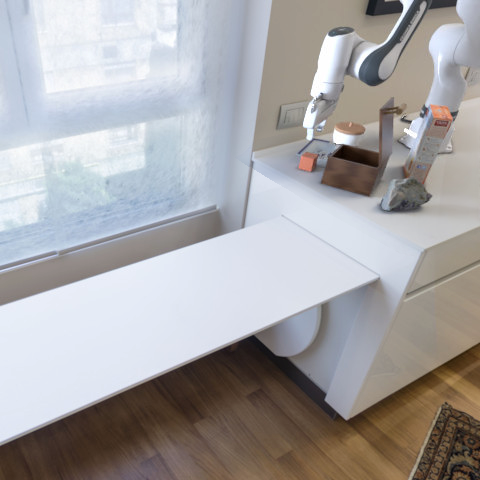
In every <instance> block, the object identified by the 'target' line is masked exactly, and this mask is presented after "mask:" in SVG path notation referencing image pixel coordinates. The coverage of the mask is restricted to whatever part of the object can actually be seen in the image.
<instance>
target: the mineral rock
mask: <svg viewBox="0 0 480 480" xmlns="http://www.w3.org/2000/svg"><path fill="white" fill-rule="evenodd" d="M432 197H433V194H432V193H430V192H428V190H427V188H426V186H425V185H424V184H422V183H421V182H419V181H418V180H417V179H415V178H414V177H412V176H411V177H410V178H407V179H405V178H403V179H397V178H394V179H392V180H391V181H390V183H389V186H388V188H387V191H386V194H385V195H384V196H383V197H382V199H381V201H380V206H381V208H382V210H385V211H386V212H391V211H401V210H411V209H413V210H414V209H417V208H420V207H421V206H422V205H425V204H427V203H429V202H430V201H431V199H432Z"/></svg>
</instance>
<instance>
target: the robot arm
mask: <svg viewBox="0 0 480 480" xmlns="http://www.w3.org/2000/svg"><path fill="white" fill-rule="evenodd" d="M399 2H400V3H401V4H402V7H403V9H402V12H401V14H400V16H399V18H398V20H397V21H396V23H395V24H394V27H393V28H392V30H391V32H390V33H389V35H388V36H387V38H386V40H384V41H383V42H382V43H380V44H378V43H375V42H371V41H369V40H367V39H364V38H362V37H361V36H360V35H358V34H357V32H356V30H355V29H354V27H351V26H338V27H334V28H332V29H331V30H329V31H328V32H327V33H326V36H325V37H324V40H323V42H322V45H321V49H320V52H319V56H318V60H317V70H316V72H315V75H314V77H313V80H312V86H311V90H310V96H311V97H313V98H312V100H311V101H310V102H309V103H308V106H307V108H306V112H305V115H304V119H303V124H302V127H303V128H304V129H306V140H307V141H312V140H313V139H314V137H315V130H316V132H318V133H321V132H323V131H324V129H325V125H326V123H327V121H328V119H329V117H331V116H332V115H333V114H334V113H335V111H336V108H337V106H338V102H339V100H340V96H341V94H342V93H343V91H344V89H345V84H344V83H345V77H346V76H349V77H351V78H354V79H356V80H358V81H361V83H364V84H365V85H367V86H369V87H377V86H380V85H381V84H383V83H385V82H386V81H388V80H389V79H390V77H392V75H393V74H394V72H395V70H396V68H397V65H398V63H399V61H400V59H401V57H402V55H403V53H404V51H405V50H406V48H407V47H408V45H409V43H410V41H411V40H412V38H413V37H414V35H415V33H416V31H418V28H419V27H420V24H421V23H422V22H423V20H424V18H425V16H426V15H427V13H428V11H429V9H430V7H431V4H432V3H433V0H399ZM455 8H456V9H455V10H456V14H457V15H458V17H459V18H460V20H461V21H462V23H460V22H457V23H455V22H454V23H445V24H444V23H443V24H442V25H441V26H439V27H438V28H437V29H436V30H435V31H434V32H433V34H432V35H431V37H430V40H429V41H428V52H429V55H430V56H431V59H432V63H433V79H432V83H431V87H430V90H429V92H428V94H427V98H426V100H425V103H424V104H423V105H422V107H421V109H420V111H419V116H418V117H416V118H414V119H413V120H410V119H406V118H405V117H407V115H406V116H405V117H403V118H402V117H401V121H402V122H405V123H410V125H409V128H408V129H407V128H404V130H403V131H404V132H405V133H406V134H405V135H403V136H402V137H400V138H399V139H398V142H400V143H401V144H402V145H403V144H404V145H405V146H406V147H407V148H409V149H411V147H412V145H413V143H414V140H415V138H416V135H417V133H418V131H419V128H420V126H421V123H422V121H423V118H424V116H425V114H426V111H427V109H428V106H429V105H430V104H432V105H441V106H447V107H448V109H449V111H450V114H451V116H452V118H453V122H452V124H451V126H450V128H449V130H448V132H447V134H446V137H445V139H444V141H443V143H442V145H441V147H440V150H439V152H438V154H441V153H442V154H443V153H446V154H447V153H453V152H452V151H453V145H452V144H453V143H452V140H453V135H454V134H455V131H456V128H455V124H454V122H455V121H456V119H457V117H458V114H459V111H460V109H459V108H460V107H461V104H462V102H463V100H464V98H465V95H466V93H467V91H468V82H467V80H466V79H465V78H464V75H463V67H466V68H469V69H473V70H480V0H456V5H455Z"/></svg>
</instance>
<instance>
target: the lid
mask: <svg viewBox="0 0 480 480" xmlns="http://www.w3.org/2000/svg"><path fill="white" fill-rule="evenodd" d="M407 108H408V105H407V103H402V104H400V105H398V106H395V96H392V97H390V98H389V99H388V100H387V101H386V102H385V103H384V104H383V105H382V106H381V107H380V108H379V114H378V115H379V116H378V117H379V118H378V119H379V121H378V122H379V123H378V124H379V125H378V152H379V168H382V166H383V165H384V164H385V162H386V161H387V160H388V158H389V157H390V158H391V156H392V154H393V149H394V148H393V146H394V117H395V114H396V115H397V116H400V115H402V114H403V113H404V111H406V110H407ZM390 158H389V159H390ZM388 161H389V160H388Z"/></svg>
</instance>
